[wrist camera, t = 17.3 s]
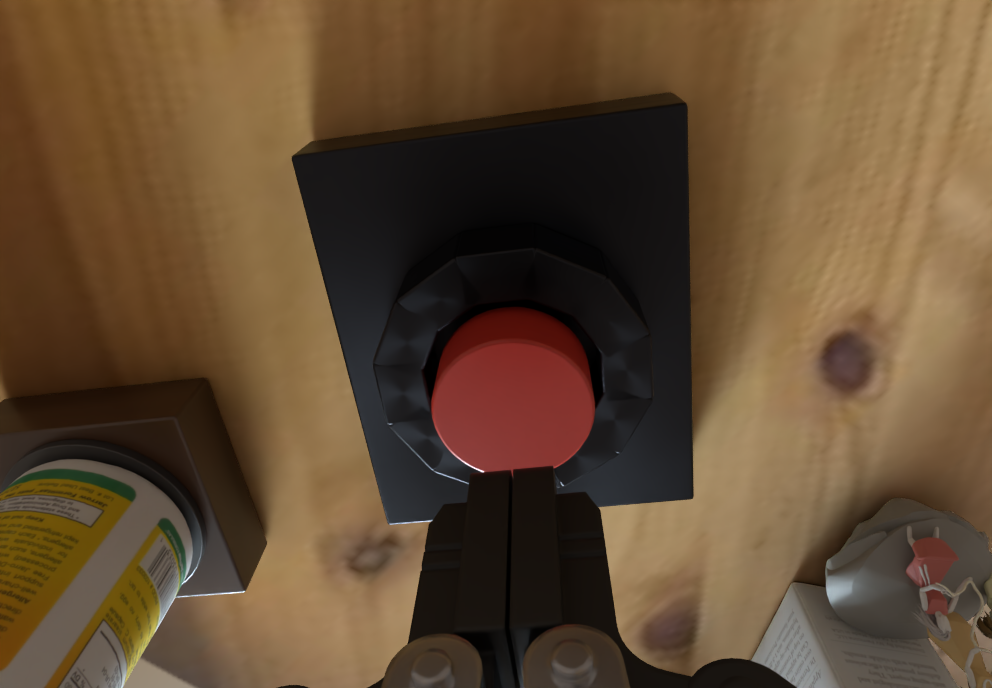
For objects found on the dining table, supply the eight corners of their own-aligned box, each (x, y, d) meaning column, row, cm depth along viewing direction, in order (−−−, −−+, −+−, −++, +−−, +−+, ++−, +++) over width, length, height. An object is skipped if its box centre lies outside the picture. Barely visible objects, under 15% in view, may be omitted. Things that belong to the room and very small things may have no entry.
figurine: (805, 593, 24) (885, 767, 19) (804, 490, 22) (893, 652, 17) (969, 574, 24) (1100, 749, 18) (984, 468, 22) (1135, 628, 16)
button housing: (309, 141, 18) (264, 175, 15) (673, 91, 17) (707, 116, 14) (396, 490, 23) (376, 570, 20) (682, 464, 22) (708, 544, 19)
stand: (3, 398, 22) (-56, 445, 19) (207, 376, 21) (170, 423, 19) (87, 558, 25) (43, 616, 22) (268, 543, 24) (242, 601, 22)
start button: (426, 314, 17) (416, 348, 15) (582, 296, 16) (588, 330, 15) (452, 442, 18) (445, 485, 17) (594, 428, 18) (601, 471, 16)
